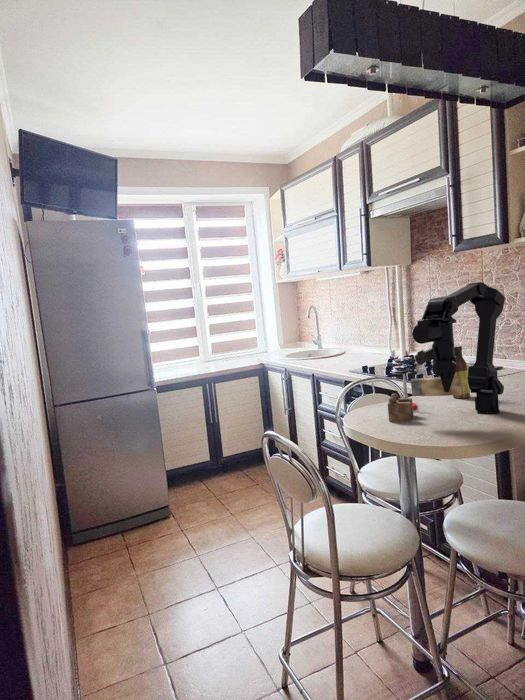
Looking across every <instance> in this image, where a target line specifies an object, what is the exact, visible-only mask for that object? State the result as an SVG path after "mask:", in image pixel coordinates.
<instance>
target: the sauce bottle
mask: <svg viewBox="0 0 525 700" xmlns="http://www.w3.org/2000/svg"><path fill="white" fill-rule="evenodd" d="M454 352H455V356H456V373H455V375H454V376H460V381H461V392H462V395H452V397H453V398H454V399H460V398H461V399H468V398H470V396H471V391H470V388H469V385H468V379H467V377H468V365H467V361H466V360H465V358H464V356H463V346H462V345H454Z"/></svg>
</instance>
